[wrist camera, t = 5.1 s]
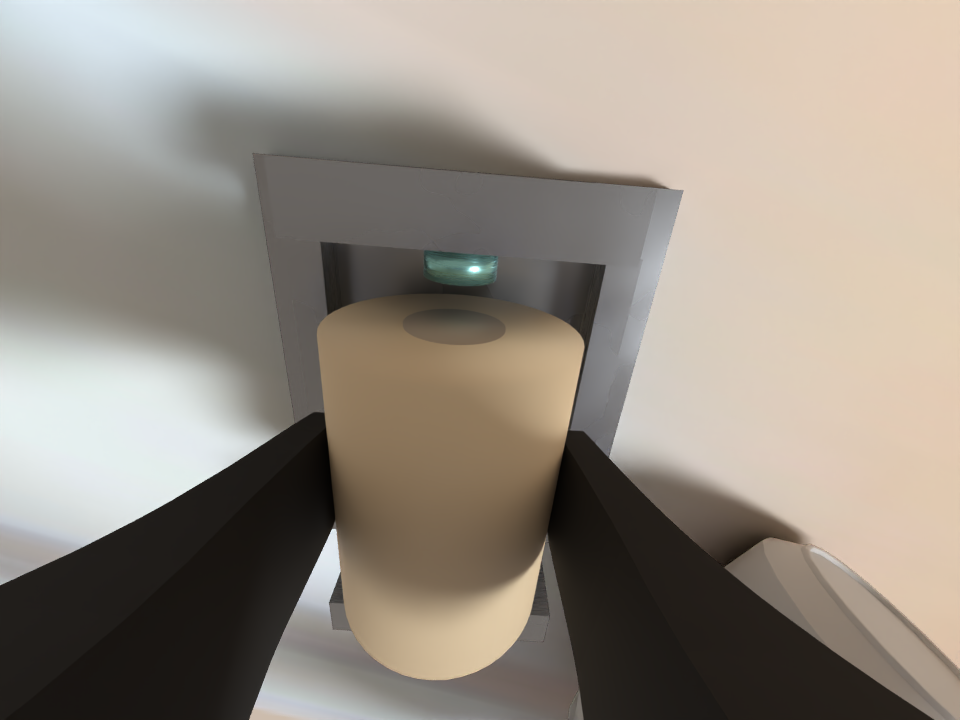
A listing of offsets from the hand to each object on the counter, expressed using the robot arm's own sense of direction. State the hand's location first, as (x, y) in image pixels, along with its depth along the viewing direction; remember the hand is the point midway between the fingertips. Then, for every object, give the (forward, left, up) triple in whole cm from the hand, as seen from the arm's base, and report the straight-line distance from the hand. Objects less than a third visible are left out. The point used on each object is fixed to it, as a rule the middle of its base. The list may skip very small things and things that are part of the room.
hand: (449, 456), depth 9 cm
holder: (0, 0, -3) cm, 3 cm away
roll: (0, +1, -2) cm, 2 cm away
